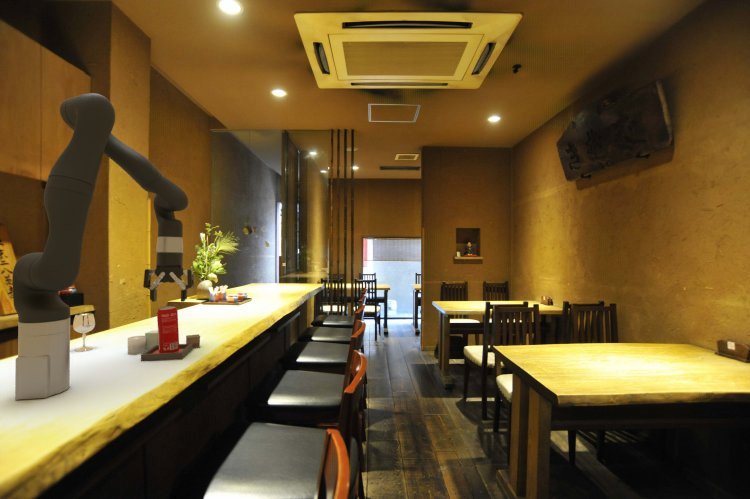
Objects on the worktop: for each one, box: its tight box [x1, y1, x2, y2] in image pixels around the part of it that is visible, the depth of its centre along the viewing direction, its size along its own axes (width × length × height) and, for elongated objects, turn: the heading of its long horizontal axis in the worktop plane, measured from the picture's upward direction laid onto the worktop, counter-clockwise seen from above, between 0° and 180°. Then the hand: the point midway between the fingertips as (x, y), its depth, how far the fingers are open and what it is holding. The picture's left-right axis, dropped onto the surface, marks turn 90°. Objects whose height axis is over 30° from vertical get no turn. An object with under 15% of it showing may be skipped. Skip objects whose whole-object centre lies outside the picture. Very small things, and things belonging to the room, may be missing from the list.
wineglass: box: [72, 312, 96, 352], centre depth 124 cm, size 6×6×12 cm
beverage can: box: [156, 305, 180, 353], centre depth 118 cm, size 6×6×15 cm
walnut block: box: [185, 334, 201, 349], centre depth 128 cm, size 4×4×4 cm
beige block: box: [127, 335, 146, 356], centre depth 121 cm, size 5×5×5 cm
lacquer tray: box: [140, 343, 193, 362], centre depth 118 cm, size 12×12×2 cm
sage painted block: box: [144, 329, 159, 351], centre depth 125 cm, size 4×4×6 cm
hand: (168, 301), depth 118 cm, fingers open, 8 cm apart
